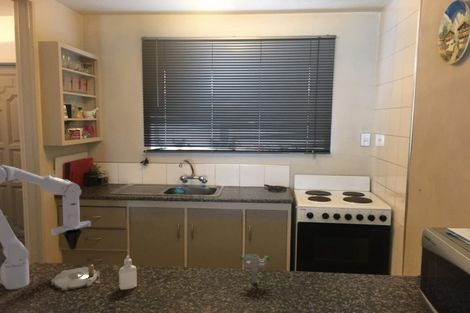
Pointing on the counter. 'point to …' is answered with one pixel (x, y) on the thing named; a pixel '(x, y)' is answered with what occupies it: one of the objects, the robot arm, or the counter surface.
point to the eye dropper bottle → (128, 275)
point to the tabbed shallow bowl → (75, 278)
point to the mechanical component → (254, 263)
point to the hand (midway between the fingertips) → (72, 248)
